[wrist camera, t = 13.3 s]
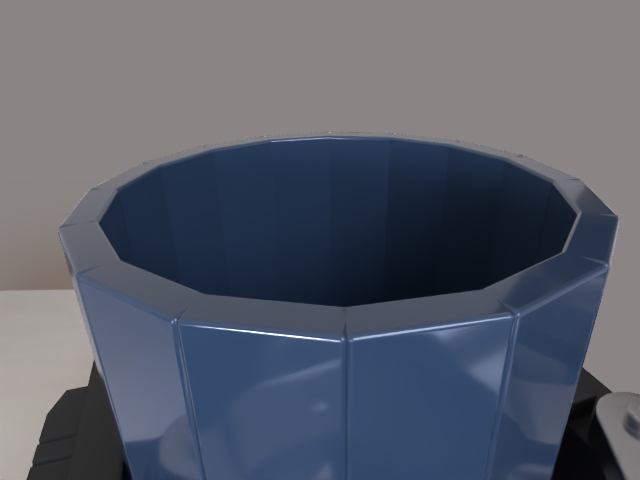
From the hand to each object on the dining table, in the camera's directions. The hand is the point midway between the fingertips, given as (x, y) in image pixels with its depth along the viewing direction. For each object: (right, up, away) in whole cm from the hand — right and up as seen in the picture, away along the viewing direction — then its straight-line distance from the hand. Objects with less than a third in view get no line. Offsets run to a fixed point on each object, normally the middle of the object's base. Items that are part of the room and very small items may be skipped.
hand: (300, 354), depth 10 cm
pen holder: (+1, -7, +1) cm, 7 cm away
